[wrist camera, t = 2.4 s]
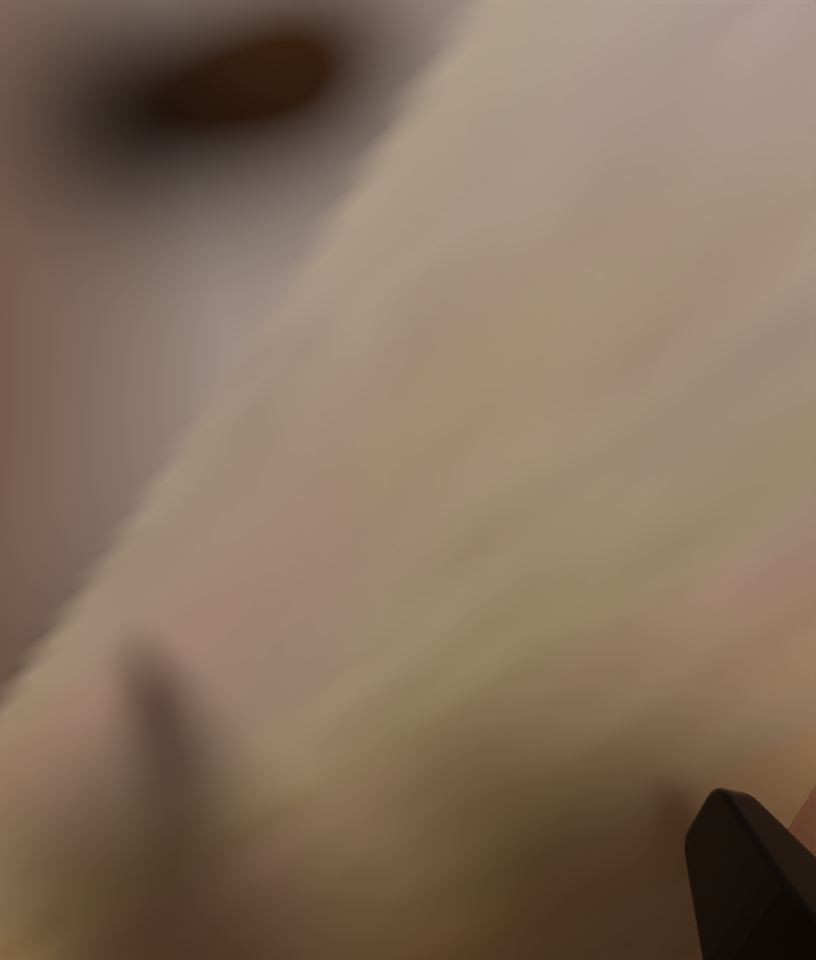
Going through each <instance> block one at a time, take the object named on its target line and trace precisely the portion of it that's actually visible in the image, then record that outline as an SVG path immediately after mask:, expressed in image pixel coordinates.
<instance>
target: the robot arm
mask: <svg viewBox="0 0 816 960" xmlns="http://www.w3.org/2000/svg"><path fill="white" fill-rule="evenodd" d="M685 857H686V863H687V869H688V875H689V881H690V887H691V893H692V899H693V905H694V911H695V917H696V923H697V929H698V935H699V941H700V947H701V953H702V959H703V960H816V857H815V856H814V855H813V854H812V853H811V852H810V851H809V850H808V849H807V848H806V847H805V846H804V845H803V844H802V843H801V842H800V841H799V840H798V839H797V838H796V837H795V836H794V835H793V834H791V833H790V832H789V831H788V830H787V829H786V828H785V827H784V826H783V825H782V824H781V823H780V822H779V821H778V820H777V819H776V818H775V817H774V816H773V815H772V814H771V813H770V812H769V811H768V810H767V809H766V808H764V807H763V806H762V805H761V804H760V803H759V802H758V801H757V800H756V799H755V798H754V797H752V796H751V795H749V794H746V793H743V792H738V791H734V790H729V789H724V788H716V789H715V790H713V791H712V792H710V794H709V795H708V797H707V799H706V800H705V802H704V804H703V805H702V807H701V809H700V811H699V812H698V814H697V816H696V817H695V819H694V821H693V823H692V824H691V826H690V828H689V829H688V832H687V835H686V838H685Z"/></svg>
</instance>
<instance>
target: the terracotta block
mask: <svg viewBox="0 0 816 960" xmlns="http://www.w3.org/2000/svg"><path fill="white" fill-rule="evenodd" d="M788 831H789V832H790V833H791V834H793V835H794V836H795V837H796V838H797V839H798V840H799V841H800V842H801V843H802V844H803V845H804V846H805V847H806V848H807V849H808V850H809V851H810V852H811V853H812V854H813V855H814V856H815V857H816V785H815V787H814V789H813V790H812V792H811V793H810V795H809V797H808V798H807V800H806V801H805V803H804V805H803V806H802V808H801V809H800V811H799V813H798V814H797V816H796V817H795V819H794V821H793V822H792V824H791V825H790V827H789V829H788Z"/></svg>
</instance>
